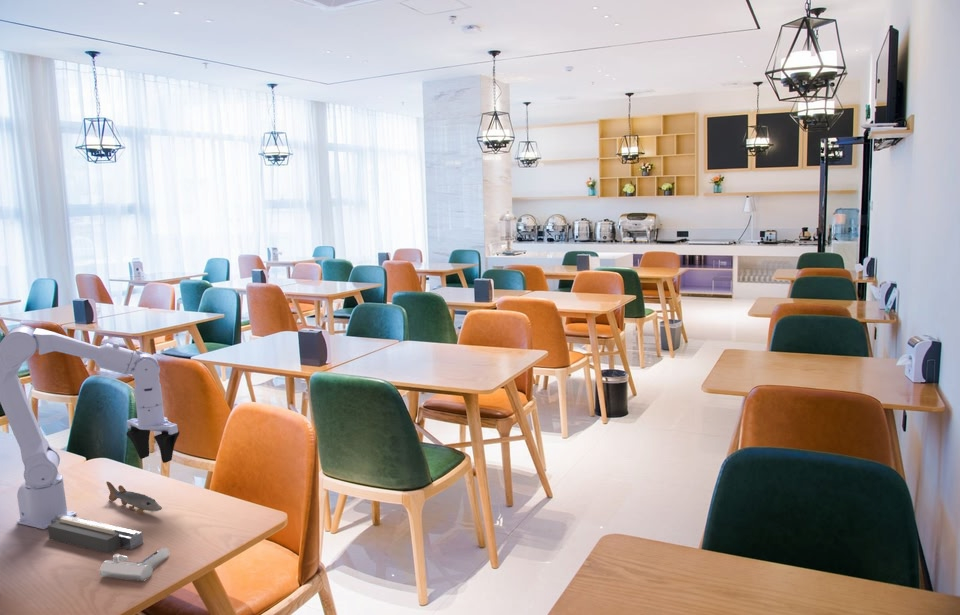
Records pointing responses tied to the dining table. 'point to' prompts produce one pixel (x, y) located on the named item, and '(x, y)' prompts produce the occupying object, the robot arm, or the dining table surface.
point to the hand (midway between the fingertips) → (155, 459)
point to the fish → (133, 499)
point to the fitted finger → (84, 535)
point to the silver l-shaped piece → (132, 566)
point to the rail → (127, 536)
